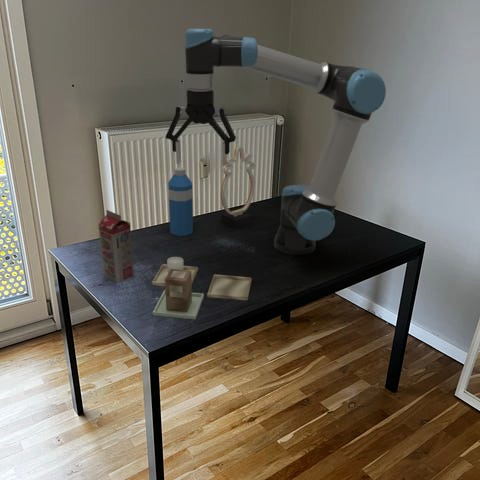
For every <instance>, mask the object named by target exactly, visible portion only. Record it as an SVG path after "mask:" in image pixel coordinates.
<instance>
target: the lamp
mask: <svg viewBox="0 0 480 480" xmlns="http://www.w3.org/2000/svg"><path fill="white" fill-rule="evenodd" d="M239 158H240V160H241V163H244V164H246V165H250V166H248V167H246V172H247V174H248V177H249V181H250V188H249V193H248V198H247V200H246V202H245V204H244V206H243V207H242V208H239V209H237V208H236V209H233V210H230V209H229V207H228V205H227V201H226V195H225V193H226V188H227V184H228V181H229V179H230V177H231V175H232V172H230V171H229V170H231V169H234V165H233V163H234V164H236V163H237V162H238V161H239ZM252 158H253V154H252V153H249V152H247V153H245V151H244V148H243V147H241V146H236V147H235V148H234V152H233V158H231V157H226V164H225V165H226V166H224V168H223V174H224V175H225V176H224V178H223V181H222V184H221V187H220V200H221V205H222V207H223V209H224V211H225V212H224V213H221V216H220V217H221V219H220V222H221V223H222V224H224V225H226V226H228V227H230V228H232V229H235V230H237V229H240V228H243V227H246V226H250V225H252V220H253V219H252V218H253V215H252V214H249V213H247V212H246V211H247V210H248V209H249V207H250V205H251V203H252V200H253V198H254V194H255V186H256V184H255V183H256V182H255V177H254V172H252V171H253V170H254V169H255V168H256V164H255V162H254V161H251V159H252Z"/></svg>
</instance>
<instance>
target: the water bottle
mask: <svg viewBox="0 0 480 480" xmlns="http://www.w3.org/2000/svg"><path fill="white" fill-rule="evenodd" d="M167 184H168V185H167V188H168V207H169V208H168V210H169V231H170V234H171V235H173V234H174V236H176V235H177V237H180V236H181V237H183V236H184V237H185V236H188V235H191V234H192V233H194V224H193V223H194V215H193V212H194V211H193V210H194V209H193V208H194V207H193V205H194V203H193V200H194V199H193V182H192V180H191V179H190V178H189V177H188V175H187V174H186V168H185V167H178V166H177V167H175V168H174V174H173V175H172V177H171V178H170V179H169V181H168V182H167Z"/></svg>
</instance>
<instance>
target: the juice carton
mask: <svg viewBox="0 0 480 480" xmlns="http://www.w3.org/2000/svg"><path fill="white" fill-rule="evenodd" d="M105 211H106V215H105V216H104V217H103V218H102V219H100V220H99V222H98V233H99V242H100V244H99V245H100V252H101V262H102V272H103V273H102V274H103V278H105V279H106V280H108V281H109V280H110V281H113V282H114V283H116V284H117V283H120V282H121V281H122V282H123V281H124V280H126V279H129V278H131V277H132V276H134V274H135V273H134V272H135V271H134V258H133V244H132V234H131V230H132V229H131V223H130V222H128V221H127V220H124V219H122V216H121V215H120V214H118V213H115V212H113V211H110V210H109V209H106V210H105Z"/></svg>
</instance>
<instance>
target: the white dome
mask: <svg viewBox="0 0 480 480" xmlns="http://www.w3.org/2000/svg"><path fill="white" fill-rule="evenodd" d="M166 261H167V263H166V264H167V269H168V273H169V271H170V269H176V270H184V268H183V266H184V258H182V257H180V256H170V257H169V258H167V260H166Z"/></svg>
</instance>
